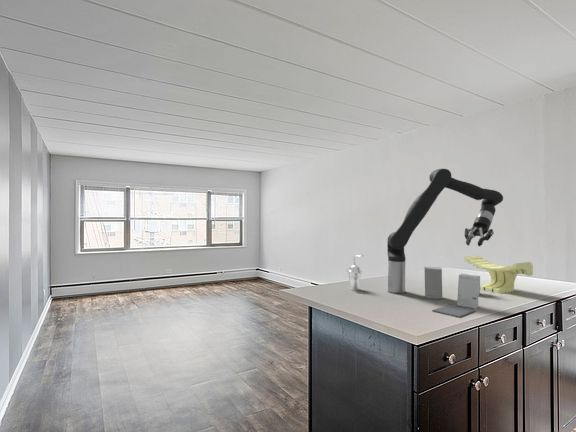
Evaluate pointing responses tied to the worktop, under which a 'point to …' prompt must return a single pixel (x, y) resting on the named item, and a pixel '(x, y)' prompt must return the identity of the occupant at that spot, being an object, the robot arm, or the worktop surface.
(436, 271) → the skincare box
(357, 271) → the cup with straw
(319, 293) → the worktop surface
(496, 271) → the slatted curved stool
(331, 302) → the worktop surface
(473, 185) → the robot arm
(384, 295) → the worktop surface
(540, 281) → the worktop surface
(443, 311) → the mat
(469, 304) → the skincare box
